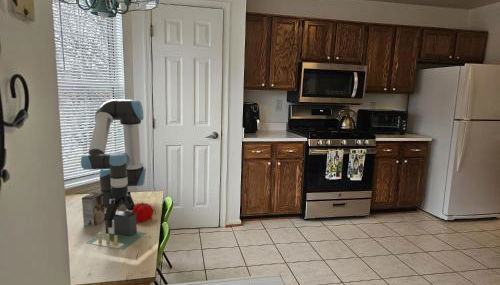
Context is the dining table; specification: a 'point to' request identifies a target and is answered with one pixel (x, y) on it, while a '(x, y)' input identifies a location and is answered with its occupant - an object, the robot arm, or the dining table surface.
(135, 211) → the tomato
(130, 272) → the dining table surface
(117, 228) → the housing
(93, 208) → the coffee box
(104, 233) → the board
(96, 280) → the dining table surface
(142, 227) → the dining table surface
